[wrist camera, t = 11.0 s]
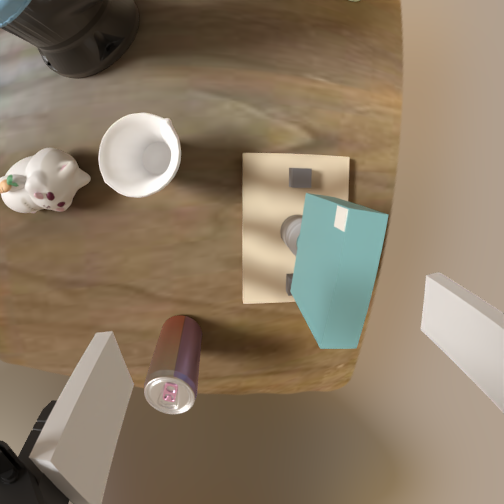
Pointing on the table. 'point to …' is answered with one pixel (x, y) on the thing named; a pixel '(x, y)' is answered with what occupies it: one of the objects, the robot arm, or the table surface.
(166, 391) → the beverage can
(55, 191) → the white ceramic figurine
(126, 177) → the cup
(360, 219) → the teal rectangular panel
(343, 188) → the post base
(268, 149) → the table surface
